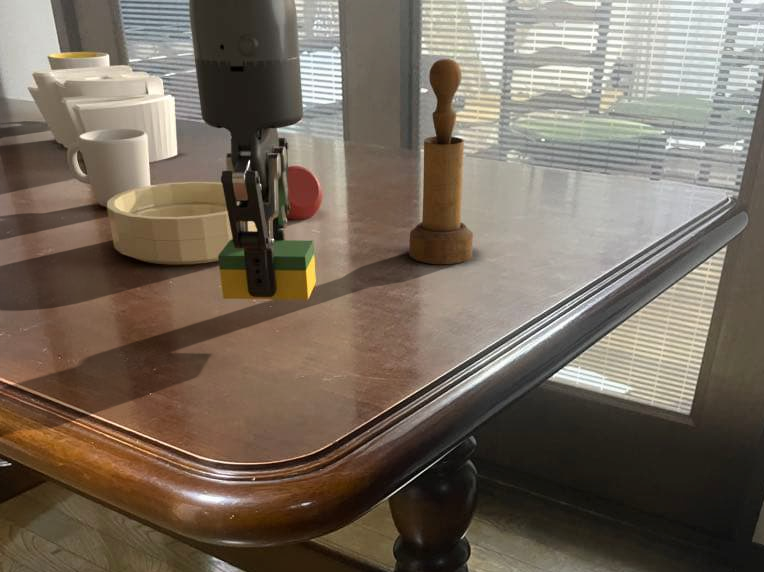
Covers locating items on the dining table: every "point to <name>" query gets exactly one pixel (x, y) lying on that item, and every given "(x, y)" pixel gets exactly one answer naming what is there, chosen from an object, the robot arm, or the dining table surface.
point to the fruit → (303, 193)
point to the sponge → (290, 271)
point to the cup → (111, 161)
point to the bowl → (171, 222)
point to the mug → (78, 60)
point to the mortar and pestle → (442, 180)
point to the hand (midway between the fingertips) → (268, 284)
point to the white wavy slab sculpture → (106, 105)
